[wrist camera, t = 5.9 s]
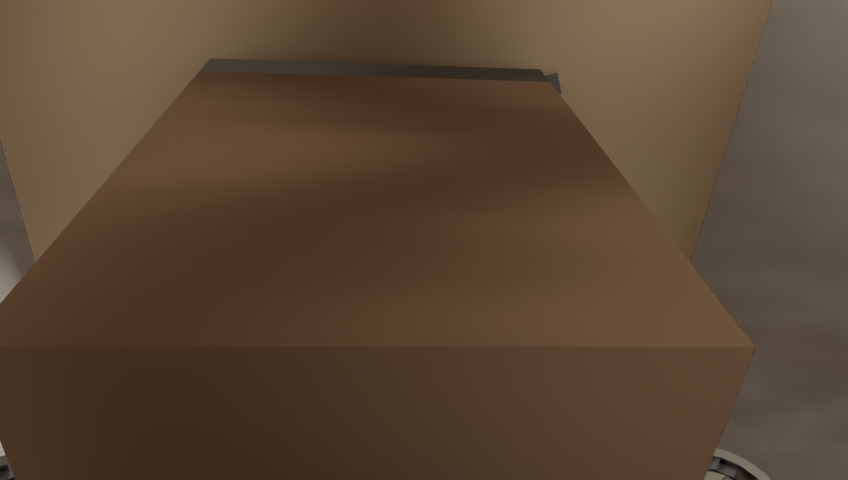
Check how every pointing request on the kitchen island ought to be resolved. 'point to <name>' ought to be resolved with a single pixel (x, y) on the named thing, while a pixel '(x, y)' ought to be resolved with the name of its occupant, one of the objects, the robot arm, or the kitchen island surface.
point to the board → (375, 44)
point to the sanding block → (365, 295)
